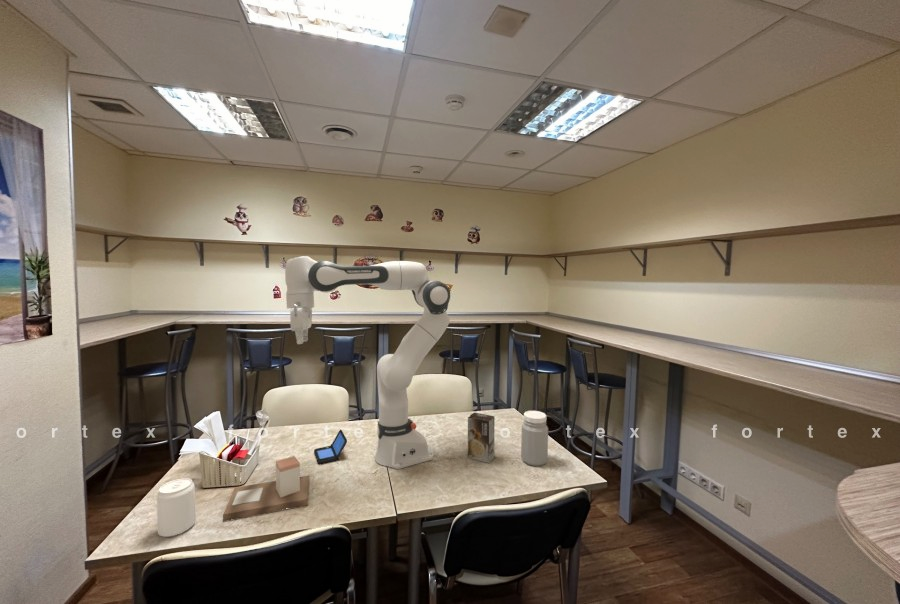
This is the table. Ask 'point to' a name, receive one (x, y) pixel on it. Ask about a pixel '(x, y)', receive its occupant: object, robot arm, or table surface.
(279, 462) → the white tall block
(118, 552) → the table surface
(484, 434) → the coffee box
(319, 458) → the handheld game console
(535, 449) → the jar
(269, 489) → the board
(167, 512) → the white cylinder
